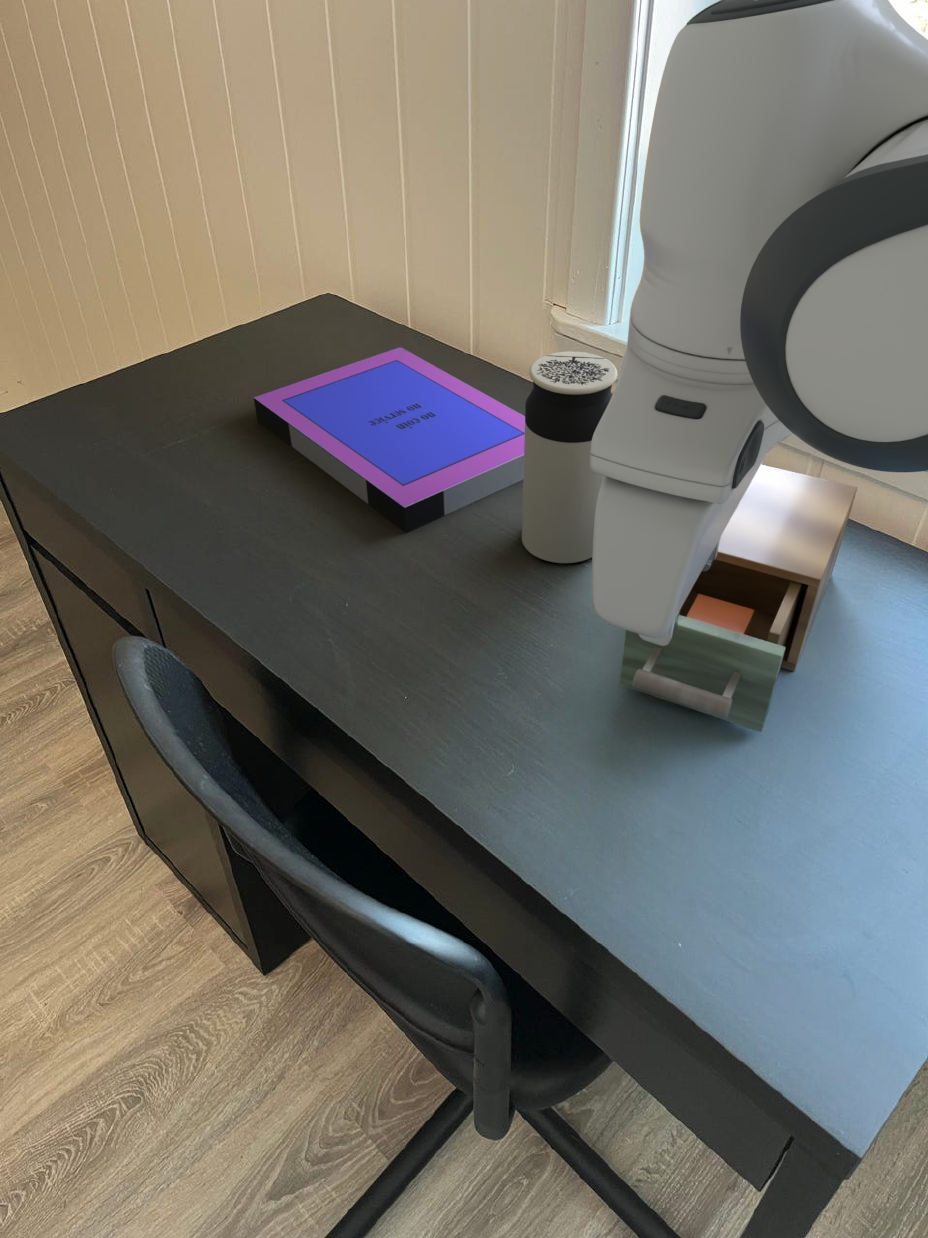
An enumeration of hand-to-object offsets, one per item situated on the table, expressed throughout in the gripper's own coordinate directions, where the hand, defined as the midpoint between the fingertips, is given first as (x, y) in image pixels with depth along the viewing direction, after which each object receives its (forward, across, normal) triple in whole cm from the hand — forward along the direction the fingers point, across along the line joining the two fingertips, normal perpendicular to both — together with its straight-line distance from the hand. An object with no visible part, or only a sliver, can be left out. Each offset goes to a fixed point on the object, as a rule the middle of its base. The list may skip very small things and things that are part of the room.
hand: (678, 597), depth 55 cm
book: (+19, -37, -42) cm, 59 cm away
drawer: (+18, -14, 0) cm, 23 cm away
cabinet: (+19, -26, 0) cm, 32 cm away
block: (+17, -15, 0) cm, 22 cm away
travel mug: (+19, -27, -18) cm, 38 cm away
